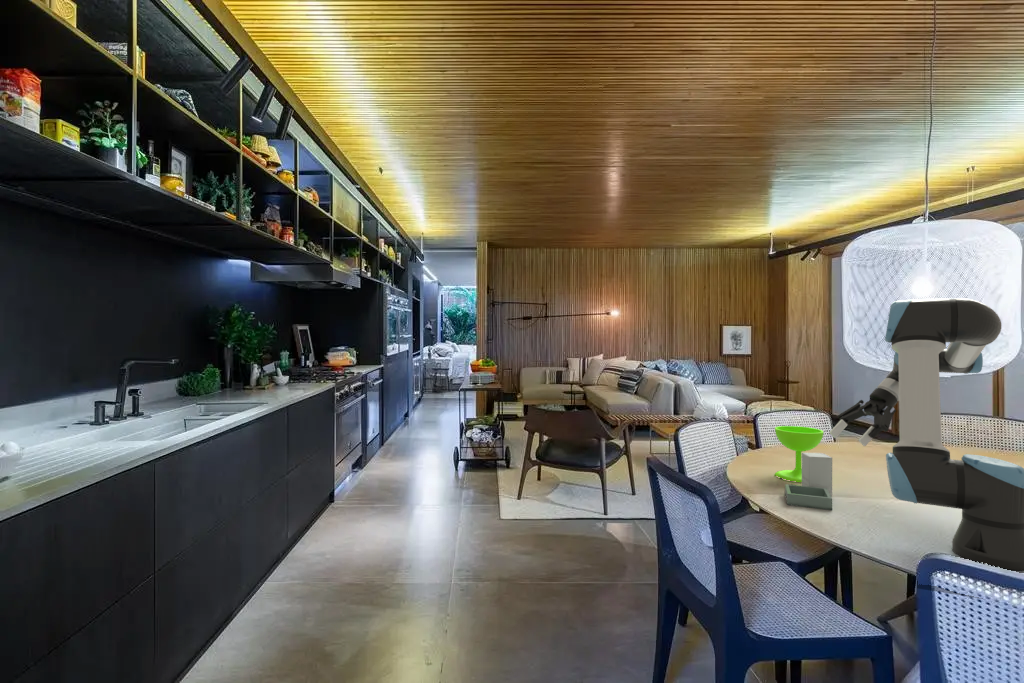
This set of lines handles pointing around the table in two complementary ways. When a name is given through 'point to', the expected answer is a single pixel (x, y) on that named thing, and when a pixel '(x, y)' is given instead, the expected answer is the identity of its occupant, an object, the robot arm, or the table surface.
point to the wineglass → (797, 446)
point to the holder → (808, 497)
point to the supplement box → (817, 470)
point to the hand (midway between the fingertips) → (846, 439)
